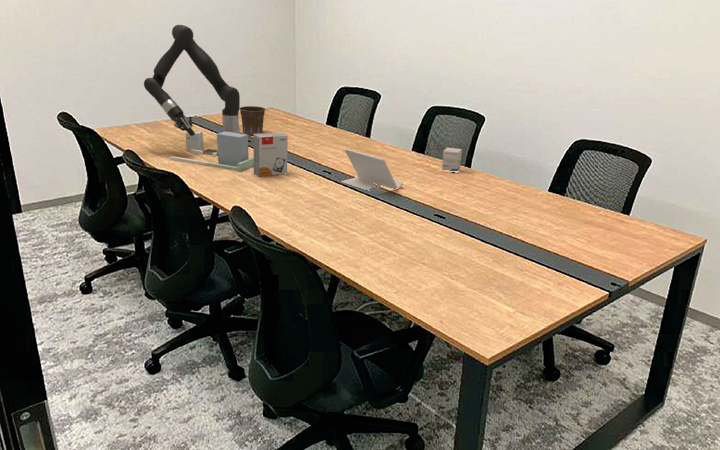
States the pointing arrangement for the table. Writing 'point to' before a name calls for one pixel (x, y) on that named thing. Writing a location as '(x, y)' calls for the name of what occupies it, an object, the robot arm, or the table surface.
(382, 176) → the tablet stand
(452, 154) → the ink box
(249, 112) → the plant pot
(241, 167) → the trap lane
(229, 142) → the block
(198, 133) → the small box
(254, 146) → the hard drive box
